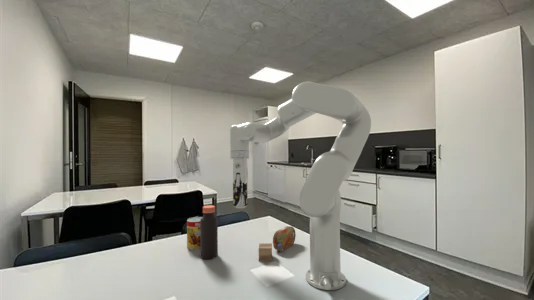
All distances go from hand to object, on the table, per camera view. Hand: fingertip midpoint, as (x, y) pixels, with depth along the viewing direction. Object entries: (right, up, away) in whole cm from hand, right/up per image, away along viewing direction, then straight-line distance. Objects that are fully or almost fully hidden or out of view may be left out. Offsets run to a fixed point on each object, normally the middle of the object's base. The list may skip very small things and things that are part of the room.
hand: (240, 200), depth 94 cm
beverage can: (0, -3, 0) cm, 3 cm away
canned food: (-21, -23, +12) cm, 34 cm away
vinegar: (-13, -23, +1) cm, 26 cm away
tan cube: (+10, -22, -2) cm, 25 cm away
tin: (+18, -23, +9) cm, 31 cm away
